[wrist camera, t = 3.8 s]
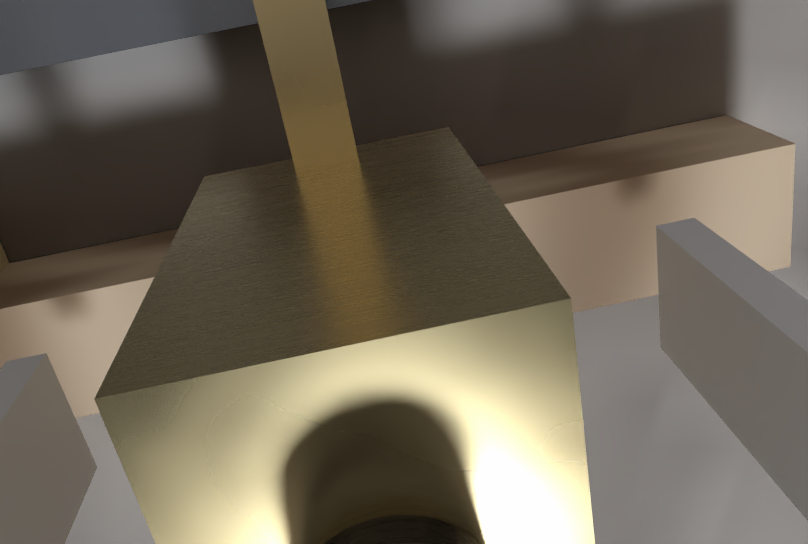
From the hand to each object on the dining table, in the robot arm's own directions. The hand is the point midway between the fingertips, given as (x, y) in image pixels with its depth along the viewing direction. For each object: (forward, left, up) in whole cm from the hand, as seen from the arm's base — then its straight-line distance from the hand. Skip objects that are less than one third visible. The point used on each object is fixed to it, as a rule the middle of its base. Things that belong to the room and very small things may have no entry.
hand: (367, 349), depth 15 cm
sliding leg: (0, +4, -4) cm, 5 cm away
